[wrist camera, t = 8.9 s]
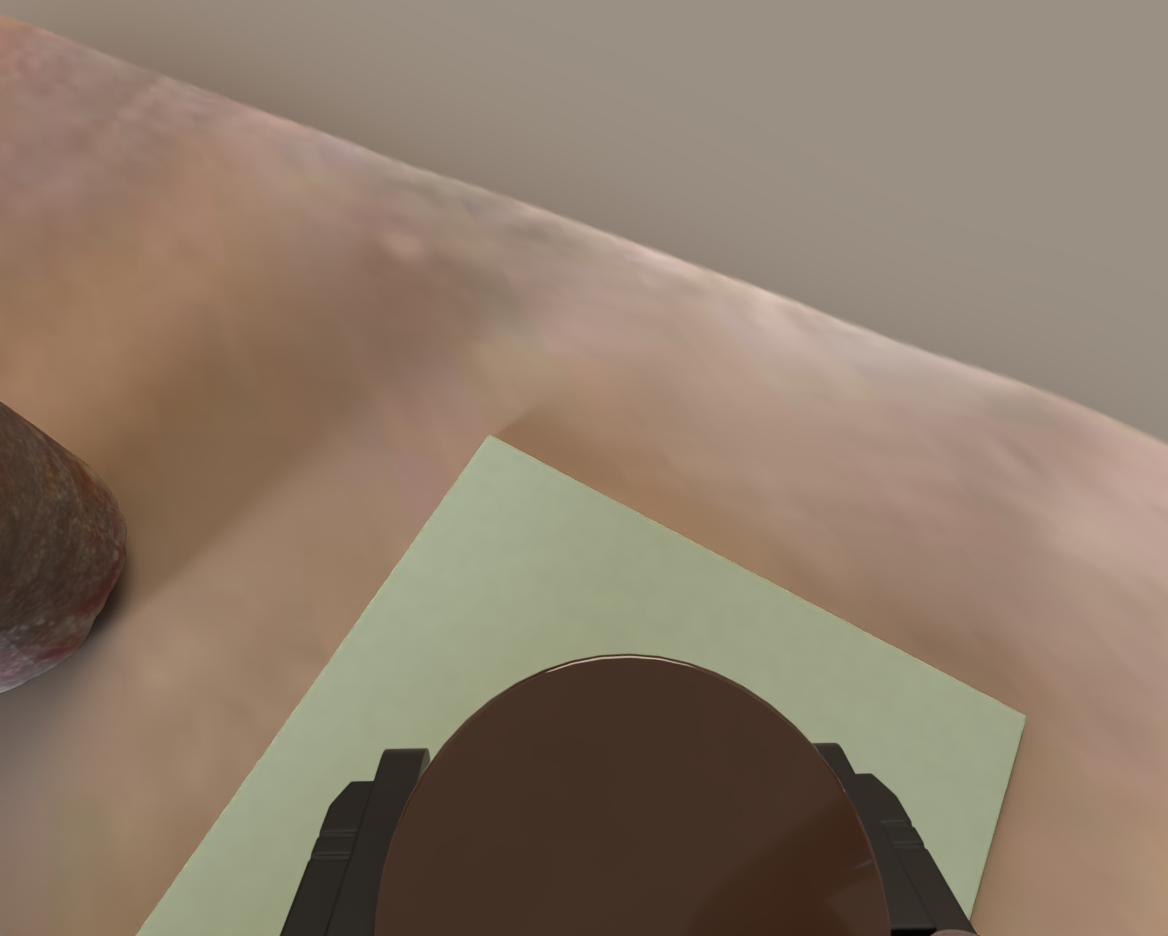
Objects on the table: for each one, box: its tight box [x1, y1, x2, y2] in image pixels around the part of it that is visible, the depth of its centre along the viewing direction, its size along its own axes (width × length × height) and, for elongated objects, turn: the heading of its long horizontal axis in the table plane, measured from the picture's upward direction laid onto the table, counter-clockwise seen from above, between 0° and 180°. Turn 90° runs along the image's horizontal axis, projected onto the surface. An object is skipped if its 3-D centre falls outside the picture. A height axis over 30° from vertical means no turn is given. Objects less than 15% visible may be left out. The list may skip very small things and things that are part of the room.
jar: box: [373, 653, 891, 936], centre depth 12 cm, size 6×6×8 cm
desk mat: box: [135, 435, 1027, 936], centre depth 19 cm, size 18×18×1 cm
